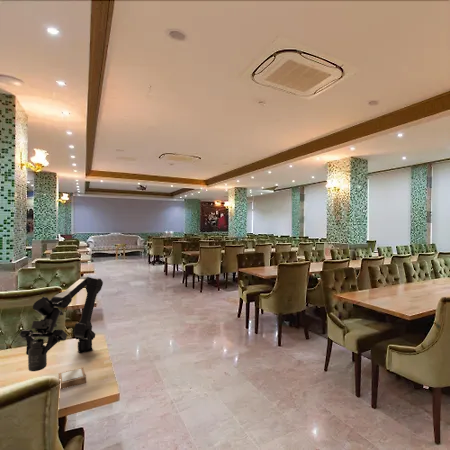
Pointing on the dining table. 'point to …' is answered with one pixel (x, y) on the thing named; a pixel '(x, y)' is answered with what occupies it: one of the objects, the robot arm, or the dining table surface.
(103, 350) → the dining table surface
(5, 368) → the dining table surface
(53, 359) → the dining table surface
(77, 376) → the walnut plinth
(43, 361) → the supplement bottle
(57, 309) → the robot arm
